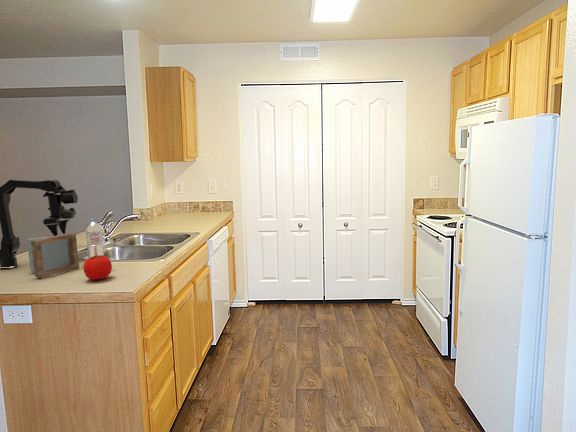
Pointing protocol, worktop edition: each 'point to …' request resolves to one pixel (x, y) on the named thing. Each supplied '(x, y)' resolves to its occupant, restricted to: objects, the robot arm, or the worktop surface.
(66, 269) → the cabinet frame
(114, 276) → the worktop surface
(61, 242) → the door
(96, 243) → the water bottle
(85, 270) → the tomato
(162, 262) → the worktop surface
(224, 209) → the worktop surface
